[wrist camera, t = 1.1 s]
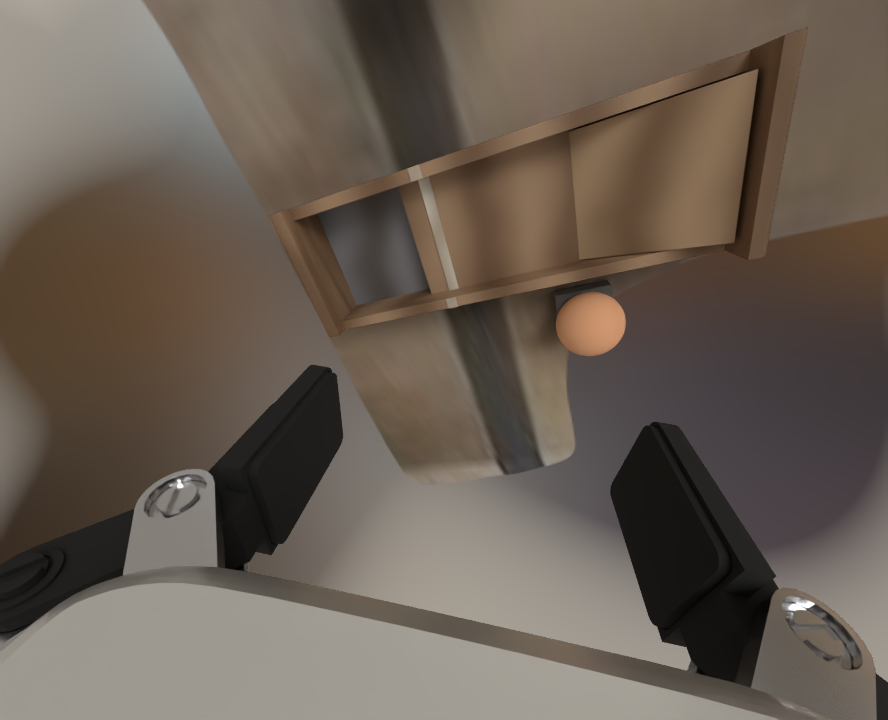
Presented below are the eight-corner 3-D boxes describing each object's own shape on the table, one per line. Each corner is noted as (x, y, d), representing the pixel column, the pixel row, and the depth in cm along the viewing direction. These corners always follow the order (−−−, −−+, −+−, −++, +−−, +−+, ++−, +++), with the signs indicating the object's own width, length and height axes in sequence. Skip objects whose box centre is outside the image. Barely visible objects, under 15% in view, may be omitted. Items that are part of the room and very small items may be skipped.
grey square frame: (606, 280, 27) (610, 284, 26) (608, 325, 29) (612, 331, 28) (553, 290, 28) (555, 295, 27) (559, 334, 30) (560, 340, 29)
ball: (614, 276, 26) (634, 300, 22) (616, 332, 28) (635, 362, 24) (549, 290, 27) (556, 314, 23) (555, 342, 30) (564, 372, 26)
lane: (724, 62, 19) (807, 27, 14) (707, 234, 24) (765, 256, 19) (304, 206, 28) (256, 218, 22) (352, 313, 32) (322, 344, 27)
